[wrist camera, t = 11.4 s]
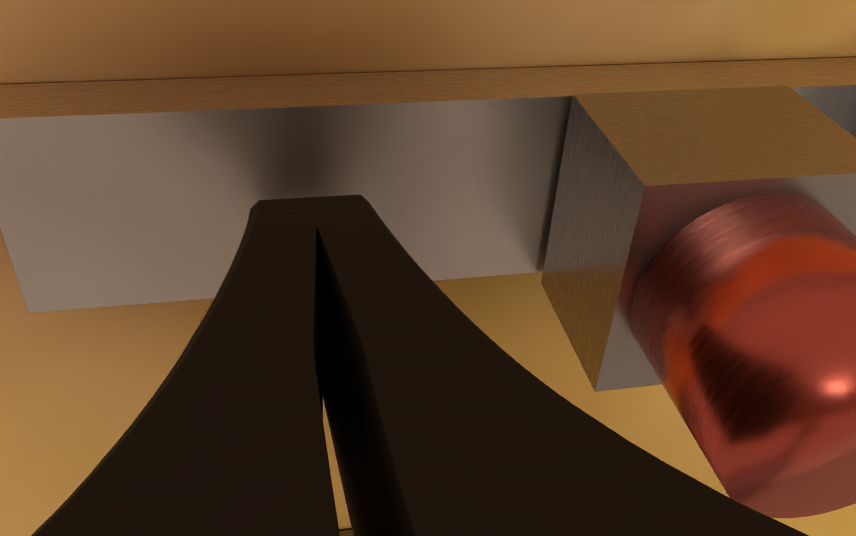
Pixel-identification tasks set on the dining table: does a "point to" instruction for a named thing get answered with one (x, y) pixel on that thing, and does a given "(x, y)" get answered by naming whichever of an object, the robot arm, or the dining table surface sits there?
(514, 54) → the dining table surface
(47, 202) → the lever rail
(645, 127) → the lever
